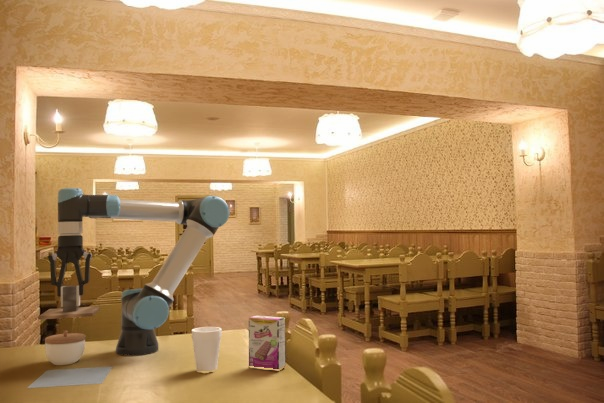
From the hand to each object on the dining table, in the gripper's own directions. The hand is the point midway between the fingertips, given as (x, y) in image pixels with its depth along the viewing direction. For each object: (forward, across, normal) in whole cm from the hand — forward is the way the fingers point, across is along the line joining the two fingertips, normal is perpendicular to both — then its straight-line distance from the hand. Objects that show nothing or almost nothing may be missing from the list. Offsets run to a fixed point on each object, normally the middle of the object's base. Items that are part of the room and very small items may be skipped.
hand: (70, 305), depth 172 cm
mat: (+20, -3, +13) cm, 24 cm away
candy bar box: (+21, -62, +20) cm, 68 cm away
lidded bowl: (+20, +3, -7) cm, 22 cm away
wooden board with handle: (+3, 0, 0) cm, 3 cm away
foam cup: (+21, -43, +16) cm, 50 cm away
